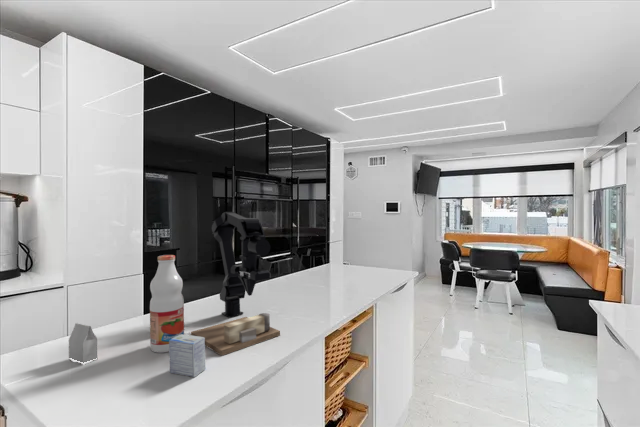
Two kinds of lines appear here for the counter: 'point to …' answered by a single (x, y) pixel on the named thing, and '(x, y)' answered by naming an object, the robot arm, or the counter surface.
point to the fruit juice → (166, 305)
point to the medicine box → (187, 355)
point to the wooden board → (246, 337)
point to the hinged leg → (246, 327)
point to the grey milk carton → (82, 343)
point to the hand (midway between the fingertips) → (249, 295)
